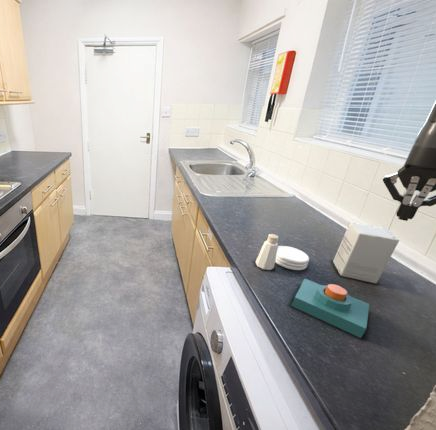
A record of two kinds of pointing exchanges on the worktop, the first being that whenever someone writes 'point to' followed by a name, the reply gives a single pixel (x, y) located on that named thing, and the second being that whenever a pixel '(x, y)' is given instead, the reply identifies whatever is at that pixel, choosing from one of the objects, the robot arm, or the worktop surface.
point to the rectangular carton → (364, 252)
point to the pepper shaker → (268, 253)
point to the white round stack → (291, 258)
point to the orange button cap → (335, 292)
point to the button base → (332, 308)
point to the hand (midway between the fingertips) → (402, 219)
